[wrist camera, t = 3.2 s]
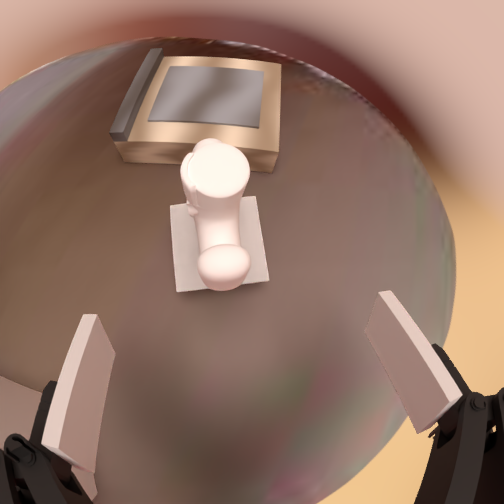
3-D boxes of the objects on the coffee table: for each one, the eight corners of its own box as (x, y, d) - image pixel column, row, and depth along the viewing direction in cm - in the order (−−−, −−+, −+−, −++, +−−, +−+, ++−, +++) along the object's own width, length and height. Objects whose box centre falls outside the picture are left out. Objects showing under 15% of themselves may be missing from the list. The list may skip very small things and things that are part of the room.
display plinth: (124, 162, 27) (109, 132, 22) (156, 78, 31) (150, 48, 26) (271, 173, 28) (281, 142, 23) (275, 86, 32) (283, 55, 27)
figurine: (249, 201, 27) (275, 88, 13) (264, 298, 25) (319, 264, 11) (175, 210, 26) (137, 101, 12) (184, 308, 24) (132, 287, 10)
